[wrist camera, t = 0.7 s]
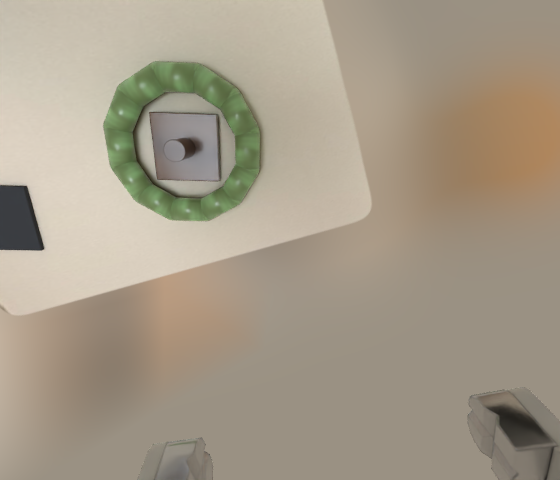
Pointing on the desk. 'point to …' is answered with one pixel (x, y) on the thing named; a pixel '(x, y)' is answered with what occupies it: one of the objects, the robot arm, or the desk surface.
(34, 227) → the mat
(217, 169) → the stand
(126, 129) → the ring
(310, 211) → the desk surface
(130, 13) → the desk surface
